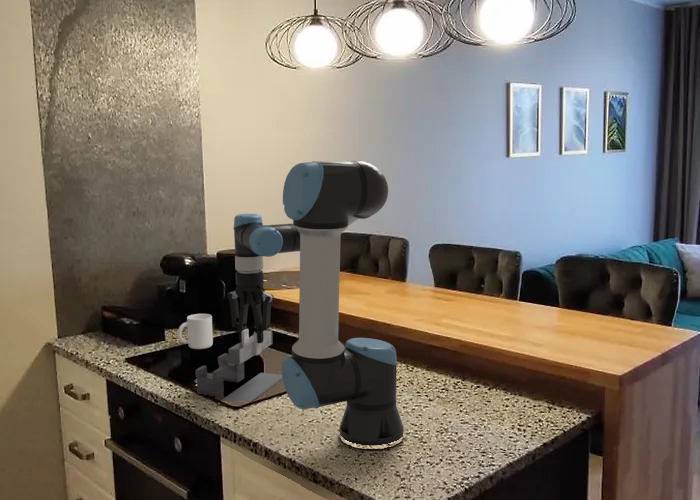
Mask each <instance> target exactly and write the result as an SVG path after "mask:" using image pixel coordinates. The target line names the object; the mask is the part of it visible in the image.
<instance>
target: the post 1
mask: <svg viewBox="0 0 700 500" xmlns="http://www.w3.org/2000/svg"><path fill="white" fill-rule="evenodd" d="M194 372H195V377H196V391H197V392H196V394H197V395H198V394H204V395H203V396H206V395H209V396H208V397H213V396H216V397H215V398H217V397H219V396H220V395H222V394H223V393H224V391H225V389H224V388H225V387H224V386H225V385H224V381H223V375H224V368H219V367H218V368H217V369H215V370H214V371H212V372H208V365H202V366H199V367H198V368H197V369H195V371H194Z"/></svg>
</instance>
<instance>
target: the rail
mask: <svg viewBox="0 0 700 500" xmlns="http://www.w3.org/2000/svg"><path fill="white" fill-rule="evenodd" d="M263 339H264V340H263V342H262V343H261V352H262V351H264V350H265V349H266V348H268V347H270V346H271V345H273V329H267V330H265V331H263ZM254 356H255V355H254V334H252V335H251V336H249V338H247V339H246V340H244V341H240V342H239V343H237V344H234V345H233V346H231V347H230V348H228V360H229V364H236V365H240V364H241V363H243V362H244V361H245V362H247V361H248V360H250V359H251V358H252V357H254ZM245 362H244V363H245Z"/></svg>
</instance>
